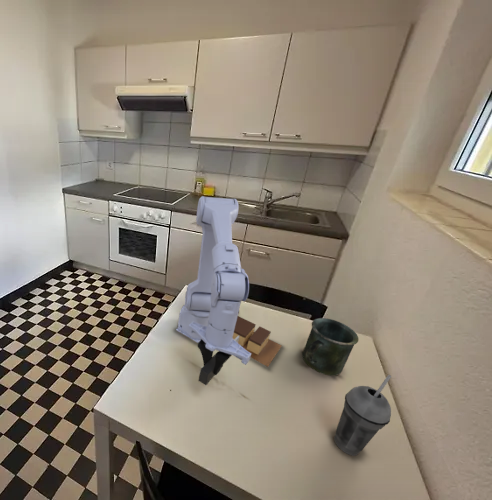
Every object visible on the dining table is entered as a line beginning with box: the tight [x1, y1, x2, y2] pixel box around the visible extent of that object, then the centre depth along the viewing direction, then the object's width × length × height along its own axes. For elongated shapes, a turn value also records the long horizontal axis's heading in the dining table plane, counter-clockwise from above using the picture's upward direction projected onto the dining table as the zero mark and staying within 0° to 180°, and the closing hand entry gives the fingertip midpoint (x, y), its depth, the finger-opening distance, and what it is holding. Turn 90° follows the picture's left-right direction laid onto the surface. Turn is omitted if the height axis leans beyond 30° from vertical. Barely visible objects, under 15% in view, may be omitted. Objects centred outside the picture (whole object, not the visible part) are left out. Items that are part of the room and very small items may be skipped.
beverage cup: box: [333, 374, 392, 457], centre depth 56 cm, size 7×7×20 cm
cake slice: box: [247, 326, 272, 355], centre depth 85 cm, size 4×8×4 cm, turn 138°
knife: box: [198, 336, 240, 386], centre depth 69 cm, size 2×18×4 cm, turn 137°
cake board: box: [242, 333, 283, 368], centre depth 87 cm, size 18×12×1 cm, turn 48°
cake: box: [233, 315, 257, 346], centre depth 89 cm, size 8×8×4 cm
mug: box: [301, 317, 359, 377], centre depth 78 cm, size 11×15×12 cm
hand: (211, 368), depth 66 cm, fingers closed on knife, 2 cm apart
